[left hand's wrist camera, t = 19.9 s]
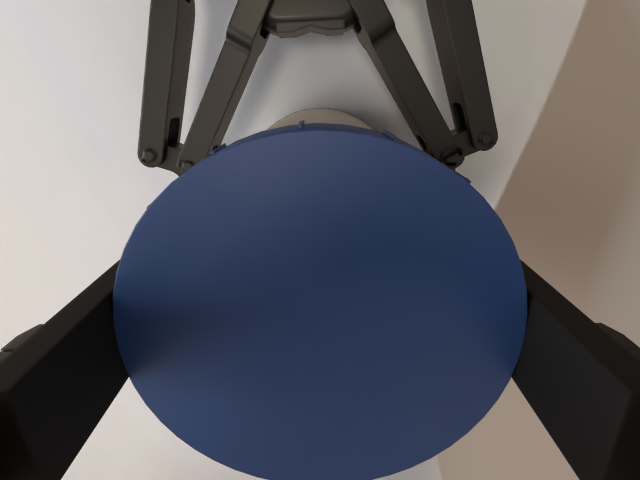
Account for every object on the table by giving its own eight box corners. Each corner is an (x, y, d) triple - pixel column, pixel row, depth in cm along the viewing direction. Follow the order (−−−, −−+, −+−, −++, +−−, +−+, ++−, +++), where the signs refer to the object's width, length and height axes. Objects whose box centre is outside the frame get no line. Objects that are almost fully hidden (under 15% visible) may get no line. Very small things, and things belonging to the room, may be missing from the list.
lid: (561, 329, 12) (599, 367, 11) (297, 482, 15) (294, 532, 13) (356, 26, 9) (364, 12, 8) (66, 280, 12) (23, 312, 10)
